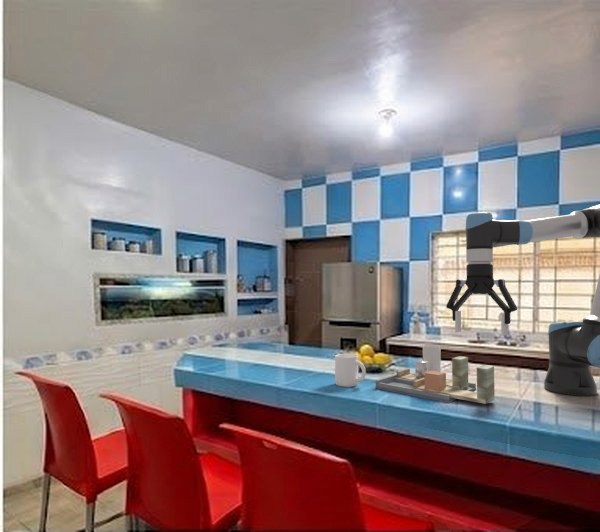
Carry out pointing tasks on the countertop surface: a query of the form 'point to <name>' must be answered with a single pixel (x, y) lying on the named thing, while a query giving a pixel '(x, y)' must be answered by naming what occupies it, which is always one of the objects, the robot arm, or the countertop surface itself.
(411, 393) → the lane board
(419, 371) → the tin can
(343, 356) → the mug
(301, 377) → the countertop surface
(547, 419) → the countertop surface
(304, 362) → the countertop surface
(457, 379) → the strip
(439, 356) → the grey bookend
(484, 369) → the strip
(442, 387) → the terracotta cube
